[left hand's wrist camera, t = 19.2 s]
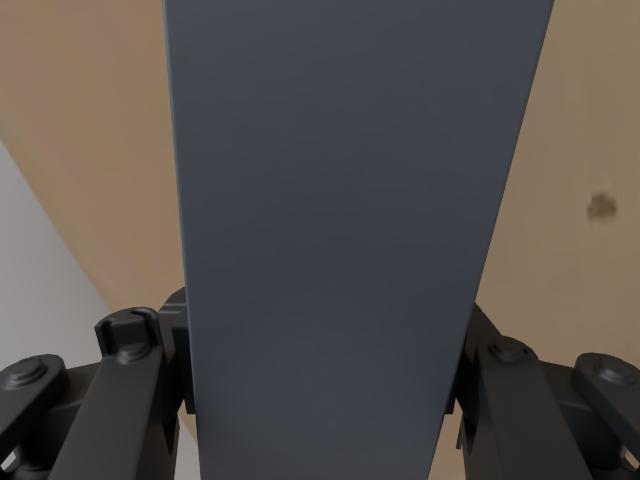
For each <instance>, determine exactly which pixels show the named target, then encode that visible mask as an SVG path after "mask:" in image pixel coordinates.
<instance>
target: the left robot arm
mask: <svg viewBox="0 0 640 480" xmlns="http://www.w3.org/2000/svg"><path fill="white" fill-rule="evenodd" d="M94 328H95V332H96V335H97V339H98V342H99V346H100V350H101V353H102V360H101V362H98V363H94V364H90V365H85V366H80V367H75V368H70V369H66V367H65V364H64V361H63V359H62V358H61V357H59V356H58V355H51V354H45V355H38V356H32V357H29V358H25V359H23V360H20V361H18V362H17V363H14V364H12V365H10V366H8V367H6V368H5V369H4V370H2V371H1V372H0V465H1V464H2V463H3V462H4V461H5V459H6V458H7V457H8V456H9V455H10V453H11V452H12V451H13V452H14V454H15V456H16V458H15V460H14V461H13V462H12V463H11V465H10V466H8V467H7V468H6V469H5V470H3V469H2V468H1V466H0V480H174V475H175V466H176V457H177V448H178V439H179V430H180V425H179V419H178V414H177V412H178V410H179V408H180V406H181V404H182V401H183V399H184V401H185V406H186V411H187V414H196V413H195V401H194V389H193V376H192V364H191V352H190V339H189V327H188V315H187V302H186V290H185V287H183V288H181V289H180V290H178V291H177V292H175V293H174V294H172V295H171V296H170V297H169V298H168V300H167V301H166V302H165V303H164V306H162V307H161V308H160V310H159V311H158V314H157V312H156V311H155V310H153V309H151V308H147V307H133V308H128V309H124V310H120V311H117V312H115V313H112V314H110V315H108V316H107V317H105V318H103V319H102V320H100V321H99V322H98V324H97V325H96V326H95V327H94ZM456 398H457V400H458V402H459V405H460V407H461V409H462V411H463V414H462V419H461V424H460V429H459V434H458V439H457V445H456V449H460V450H461V445H462V447H463V456H464V465H465V474H466V480H640V465H639V467H638V468H637V469H635V468H634V467H633V466H632V465H631V464H630V463H629V462H628V460H627V459H626V458H625V457H624V455H625V453H626V451H627V449H628V450H629V451H630V452H631V454H632V455H633V456H634V457H635V458H636V459H637V461H638V462H639V463H640V370H639V369H638V368H636V367H635V366H633V365H631V364H629V363H627V362H625V361H623V360H621V359H619V358H617V357H614V356H613V357H612V356H610V355H606V354H600V353H584V354H582V355H580V356H579V357H577V360H576V363H575V366H574V368H572V367H567V366H563V365H558V364H553V363H548V362H544V361H540V360H539V359H538V357H537V355H536V354H535V353H534V351H533V350H532V349H531V348H529V347H528V346H527V345H525V344H524V343H522V342H520V341H518V340H516V339H514V338H511V337H507V336H503V335H501V334H500V332H499V331H498V330H497V329H496V327H495V326H494V325H493V324H492V322H491V321H490V320H489V319H488V317H487V316H486V315H485V314H484V312H482V310H481V309H480V307H479V306H478V305H476V302H474V306H473V310H472V314H471V318H470V321H469V325H468V329H467V333H466V336H465V340H464V344H463V348H462V352H461V355H460V359H459V363H458V367H457V370H456V374H455V378H454V382H453V386H452V389H451V393H450V397H449V401H448V404H447V408H446V412H445V414H453V410H454V405H455V399H456Z"/></svg>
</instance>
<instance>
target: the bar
mask: <svg viewBox="0 0 640 480" xmlns="http://www.w3.org/2000/svg"><path fill="white" fill-rule="evenodd" d="M553 4H554V0H162V6H163V18H164V31H165V43H166V55H167V68H168V80H169V92H170V105H171V117H172V129H173V142H174V154H175V166H176V179H177V191H178V203H179V216H180V228H181V240H182V253H183V265H184V278H185V290H186V302H187V315H188V327H189V339H190V352H191V364H192V376H193V389H194V401H195V413H196V426H197V438H198V450H199V462H200V475H201V480H428V476H429V472H430V469H431V465H432V461H433V457H434V454H435V450H436V446H437V442H438V438H439V435H440V431H441V427H442V423H443V420H444V416H445V412H446V408H447V404H448V401H449V397H450V393H451V389H452V386H453V382H454V378H455V374H456V370H457V367H458V363H459V359H460V355H461V352H462V348H463V344H464V340H465V336H466V333H467V329H468V325H469V321H470V318H471V314H472V310H473V306H474V302H475V299H476V295H477V291H478V287H479V284H480V280H481V276H482V272H483V268H484V265H485V261H486V257H487V253H488V250H489V246H490V242H491V238H492V234H493V231H494V227H495V223H496V219H497V216H498V212H499V208H500V204H501V200H502V197H503V193H504V189H505V185H506V182H507V178H508V174H509V170H510V166H511V163H512V159H513V155H514V151H515V148H516V144H517V140H518V136H519V132H520V129H521V125H522V121H523V117H524V114H525V110H526V106H527V102H528V98H529V95H530V91H531V87H532V83H533V80H534V76H535V72H536V68H537V64H538V61H539V57H540V53H541V49H542V46H543V42H544V38H545V34H546V30H547V27H548V23H549V19H550V15H551V12H552V8H553Z"/></svg>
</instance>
